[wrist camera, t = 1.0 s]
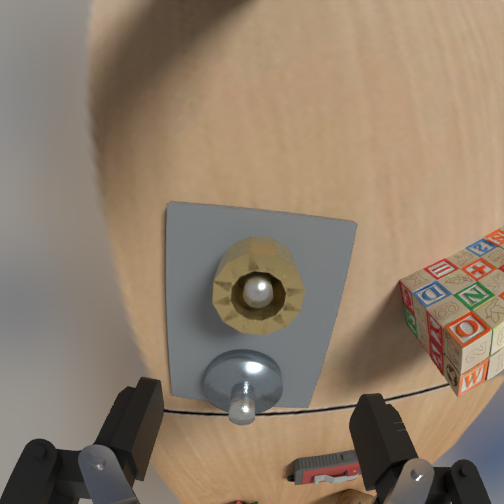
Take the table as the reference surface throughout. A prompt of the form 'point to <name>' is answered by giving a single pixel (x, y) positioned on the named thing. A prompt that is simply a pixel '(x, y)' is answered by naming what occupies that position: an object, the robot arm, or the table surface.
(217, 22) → the table surface
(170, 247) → the board
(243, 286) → the silver knob
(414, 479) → the robot arm
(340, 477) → the walkie-talkie
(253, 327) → the brass ring
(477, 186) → the table surface
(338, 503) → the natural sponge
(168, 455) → the table surface
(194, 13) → the table surface
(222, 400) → the hub
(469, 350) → the stack of blocks
